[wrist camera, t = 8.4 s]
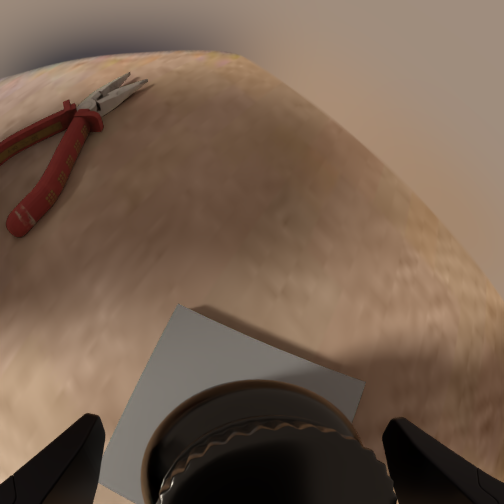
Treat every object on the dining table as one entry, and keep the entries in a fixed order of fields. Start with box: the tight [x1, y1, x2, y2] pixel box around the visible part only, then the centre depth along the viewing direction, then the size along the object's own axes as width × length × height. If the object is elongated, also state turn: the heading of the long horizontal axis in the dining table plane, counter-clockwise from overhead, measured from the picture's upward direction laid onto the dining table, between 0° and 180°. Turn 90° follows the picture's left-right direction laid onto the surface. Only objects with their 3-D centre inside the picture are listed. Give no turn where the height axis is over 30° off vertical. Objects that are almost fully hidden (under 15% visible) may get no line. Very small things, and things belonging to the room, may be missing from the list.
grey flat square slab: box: [98, 304, 366, 504], centre depth 15 cm, size 12×12×2 cm
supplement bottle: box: [140, 379, 397, 504], centre depth 9 cm, size 7×7×12 cm
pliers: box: [0, 72, 148, 237], centre depth 24 cm, size 12×20×3 cm, turn 149°
